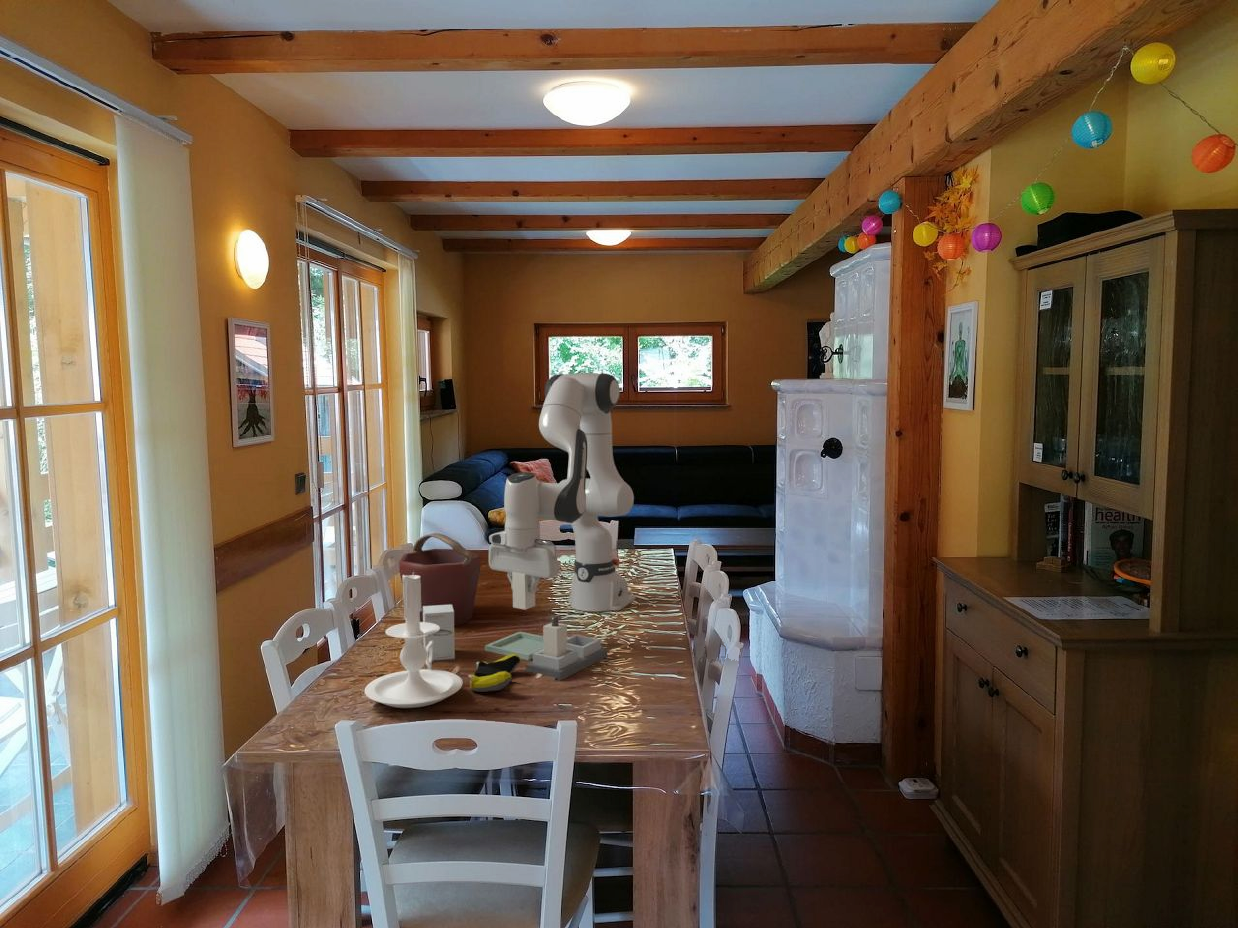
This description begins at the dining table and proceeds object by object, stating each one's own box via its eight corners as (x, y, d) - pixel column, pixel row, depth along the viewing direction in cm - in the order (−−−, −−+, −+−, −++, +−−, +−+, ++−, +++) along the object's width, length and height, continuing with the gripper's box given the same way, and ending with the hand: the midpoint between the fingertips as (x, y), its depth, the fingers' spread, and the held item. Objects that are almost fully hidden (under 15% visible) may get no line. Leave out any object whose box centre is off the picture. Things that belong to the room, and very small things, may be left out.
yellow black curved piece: (521, 674, 197) (479, 673, 198) (521, 651, 197) (479, 650, 197) (510, 698, 182) (464, 697, 183) (509, 674, 182) (464, 673, 182)
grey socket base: (574, 649, 215) (574, 599, 213) (607, 656, 209) (607, 605, 208) (525, 672, 198) (525, 619, 196) (559, 680, 192) (559, 625, 191)
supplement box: (424, 663, 204) (423, 613, 203) (423, 654, 211) (422, 605, 210) (455, 661, 206) (454, 611, 205) (453, 651, 213) (452, 603, 212)
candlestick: (476, 676, 195) (474, 558, 192) (449, 719, 171) (446, 585, 168) (389, 675, 196) (385, 557, 193) (350, 717, 172) (345, 584, 169)
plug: (522, 603, 216) (522, 561, 215) (535, 605, 214) (534, 563, 213) (513, 607, 213) (512, 564, 212) (525, 609, 211) (524, 566, 210)
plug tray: (519, 638, 224) (519, 631, 224) (562, 646, 217) (562, 640, 216) (484, 652, 212) (484, 645, 212) (528, 662, 205) (528, 655, 205)
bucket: (491, 625, 236) (490, 537, 233) (415, 637, 224) (412, 546, 222) (460, 605, 257) (458, 524, 254) (388, 615, 245) (386, 531, 243)
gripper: (563, 539, 209) (564, 593, 210) (500, 531, 220) (501, 582, 221) (548, 544, 203) (549, 599, 205) (484, 535, 214) (485, 588, 216)
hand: (523, 590), depth 213 cm, fingers closed on plug, 4 cm apart
